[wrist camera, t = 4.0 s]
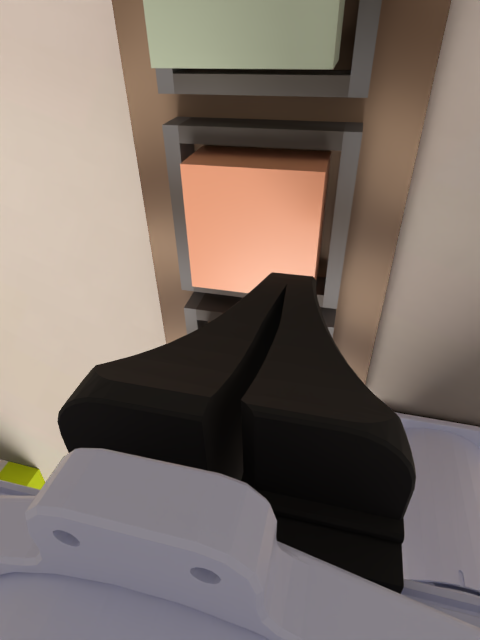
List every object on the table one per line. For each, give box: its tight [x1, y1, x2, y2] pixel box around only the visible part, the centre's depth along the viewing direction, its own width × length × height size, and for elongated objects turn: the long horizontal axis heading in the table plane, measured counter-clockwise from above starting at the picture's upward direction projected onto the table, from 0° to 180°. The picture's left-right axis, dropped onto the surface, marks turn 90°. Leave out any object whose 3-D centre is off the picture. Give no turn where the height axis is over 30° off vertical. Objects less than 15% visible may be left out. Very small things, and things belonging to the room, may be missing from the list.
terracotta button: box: [180, 146, 331, 293], centre depth 16 cm, size 5×5×2 cm
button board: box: [112, 0, 451, 384], centre depth 18 cm, size 24×11×3 cm, turn 1°
